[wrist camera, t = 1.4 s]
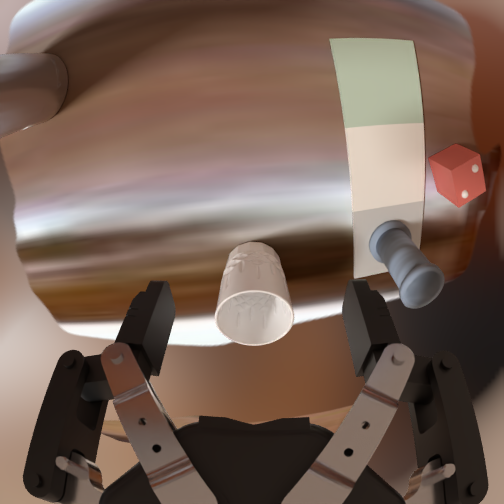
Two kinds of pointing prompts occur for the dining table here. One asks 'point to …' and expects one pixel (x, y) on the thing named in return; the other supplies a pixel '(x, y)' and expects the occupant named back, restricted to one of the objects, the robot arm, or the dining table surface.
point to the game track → (381, 138)
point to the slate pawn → (406, 264)
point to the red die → (458, 174)
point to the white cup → (254, 296)
